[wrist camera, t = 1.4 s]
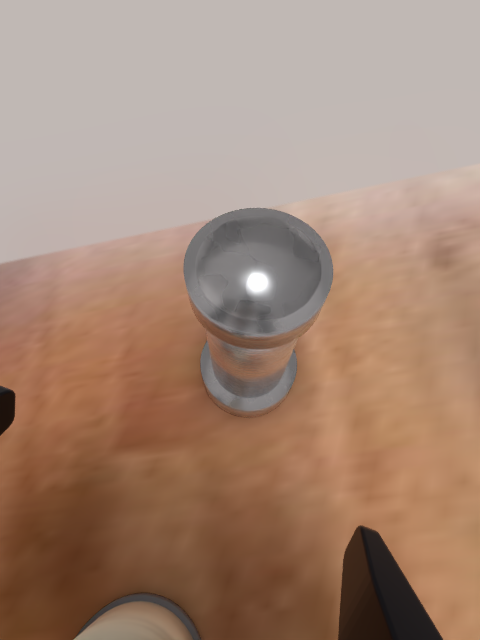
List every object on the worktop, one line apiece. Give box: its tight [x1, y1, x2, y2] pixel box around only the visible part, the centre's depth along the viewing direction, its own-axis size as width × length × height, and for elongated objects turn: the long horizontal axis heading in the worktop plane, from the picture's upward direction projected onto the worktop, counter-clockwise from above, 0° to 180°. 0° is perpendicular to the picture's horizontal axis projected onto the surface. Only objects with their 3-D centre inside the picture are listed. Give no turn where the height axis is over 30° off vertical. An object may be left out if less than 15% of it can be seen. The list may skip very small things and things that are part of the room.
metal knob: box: [184, 208, 333, 417], centre depth 18 cm, size 6×6×12 cm
